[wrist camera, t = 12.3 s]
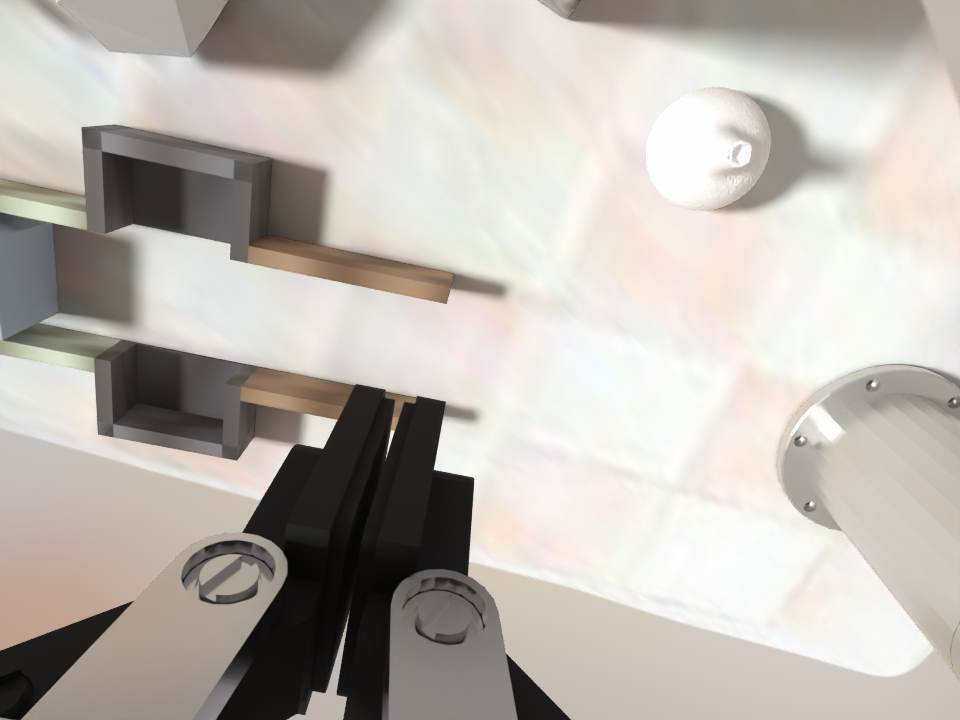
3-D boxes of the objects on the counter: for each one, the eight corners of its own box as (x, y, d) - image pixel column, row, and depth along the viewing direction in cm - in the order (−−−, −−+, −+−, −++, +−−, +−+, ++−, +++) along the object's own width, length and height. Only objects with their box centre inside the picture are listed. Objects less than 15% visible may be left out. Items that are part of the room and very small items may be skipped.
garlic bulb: (717, 221, 36) (772, 254, 29) (621, 180, 35) (653, 202, 28) (777, 115, 34) (853, 120, 26) (676, 67, 33) (726, 60, 26)
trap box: (467, 200, 36) (462, 216, 31) (415, 467, 44) (405, 511, 39) (-112, 76, 34) (-207, 73, 30) (-62, 377, 42) (-131, 411, 37)
